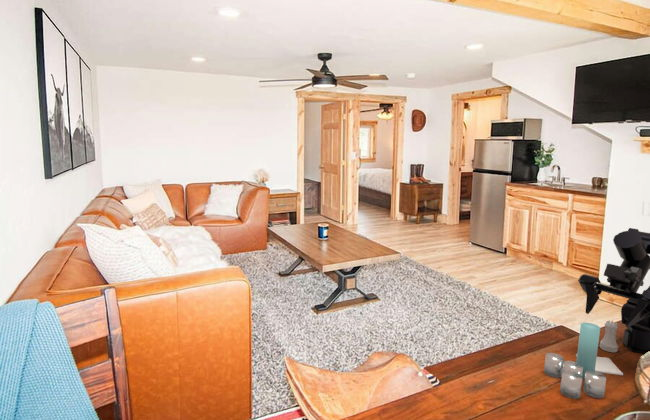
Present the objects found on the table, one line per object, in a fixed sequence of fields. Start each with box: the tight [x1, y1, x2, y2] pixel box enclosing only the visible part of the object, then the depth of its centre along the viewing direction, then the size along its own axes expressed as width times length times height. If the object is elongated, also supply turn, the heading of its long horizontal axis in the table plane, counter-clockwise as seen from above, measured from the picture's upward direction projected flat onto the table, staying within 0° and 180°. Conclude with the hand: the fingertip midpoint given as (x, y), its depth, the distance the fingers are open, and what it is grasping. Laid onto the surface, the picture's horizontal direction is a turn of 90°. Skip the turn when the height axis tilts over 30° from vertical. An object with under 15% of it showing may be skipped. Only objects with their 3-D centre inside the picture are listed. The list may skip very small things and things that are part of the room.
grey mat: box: [575, 353, 624, 376], centre depth 106 cm, size 8×8×1 cm
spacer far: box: [559, 371, 584, 400], centre depth 93 cm, size 4×4×4 cm
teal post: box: [575, 322, 601, 380], centre depth 100 cm, size 4×4×13 cm
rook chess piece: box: [598, 320, 619, 354], centre depth 114 cm, size 4×4×8 cm
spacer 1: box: [543, 352, 565, 379], centre depth 101 cm, size 4×4×4 cm
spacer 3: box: [582, 370, 607, 399], centre depth 93 cm, size 4×4×4 cm
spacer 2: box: [563, 360, 583, 376], centre depth 98 cm, size 4×4×4 cm
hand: (605, 319), depth 103 cm, fingers open, 9 cm apart
